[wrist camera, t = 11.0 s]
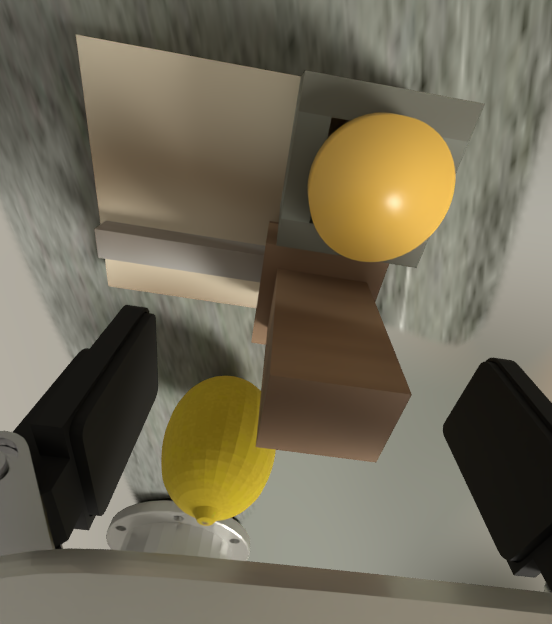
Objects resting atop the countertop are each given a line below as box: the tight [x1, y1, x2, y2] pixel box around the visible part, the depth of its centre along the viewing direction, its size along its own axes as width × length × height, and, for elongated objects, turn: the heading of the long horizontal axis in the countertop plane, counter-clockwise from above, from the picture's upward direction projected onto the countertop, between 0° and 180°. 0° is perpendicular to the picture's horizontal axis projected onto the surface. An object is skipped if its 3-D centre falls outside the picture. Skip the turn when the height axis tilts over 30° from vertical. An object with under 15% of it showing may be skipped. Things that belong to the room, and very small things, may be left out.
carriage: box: [252, 221, 411, 462], centre depth 11 cm, size 4×4×8 cm
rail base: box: [76, 35, 485, 308], centre depth 12 cm, size 9×12×6 cm
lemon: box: [162, 376, 275, 526], centre depth 17 cm, size 6×6×8 cm
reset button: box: [308, 112, 455, 262], centre depth 10 cm, size 3×3×5 cm
